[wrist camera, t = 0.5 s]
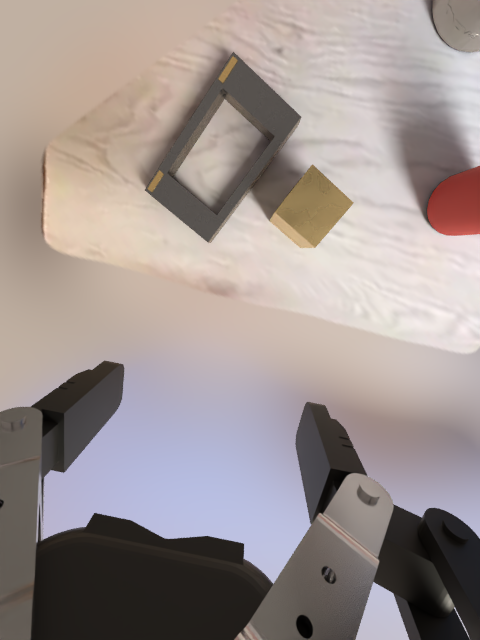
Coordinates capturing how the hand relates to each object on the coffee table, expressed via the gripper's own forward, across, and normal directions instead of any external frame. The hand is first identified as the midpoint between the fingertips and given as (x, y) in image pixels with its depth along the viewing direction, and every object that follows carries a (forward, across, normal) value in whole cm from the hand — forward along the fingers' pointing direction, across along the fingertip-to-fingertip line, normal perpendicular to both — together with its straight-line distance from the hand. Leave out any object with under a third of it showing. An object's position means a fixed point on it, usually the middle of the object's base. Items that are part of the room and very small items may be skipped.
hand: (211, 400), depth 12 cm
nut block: (+24, -5, -11) cm, 27 cm away
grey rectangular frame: (+24, +5, -15) cm, 29 cm away
